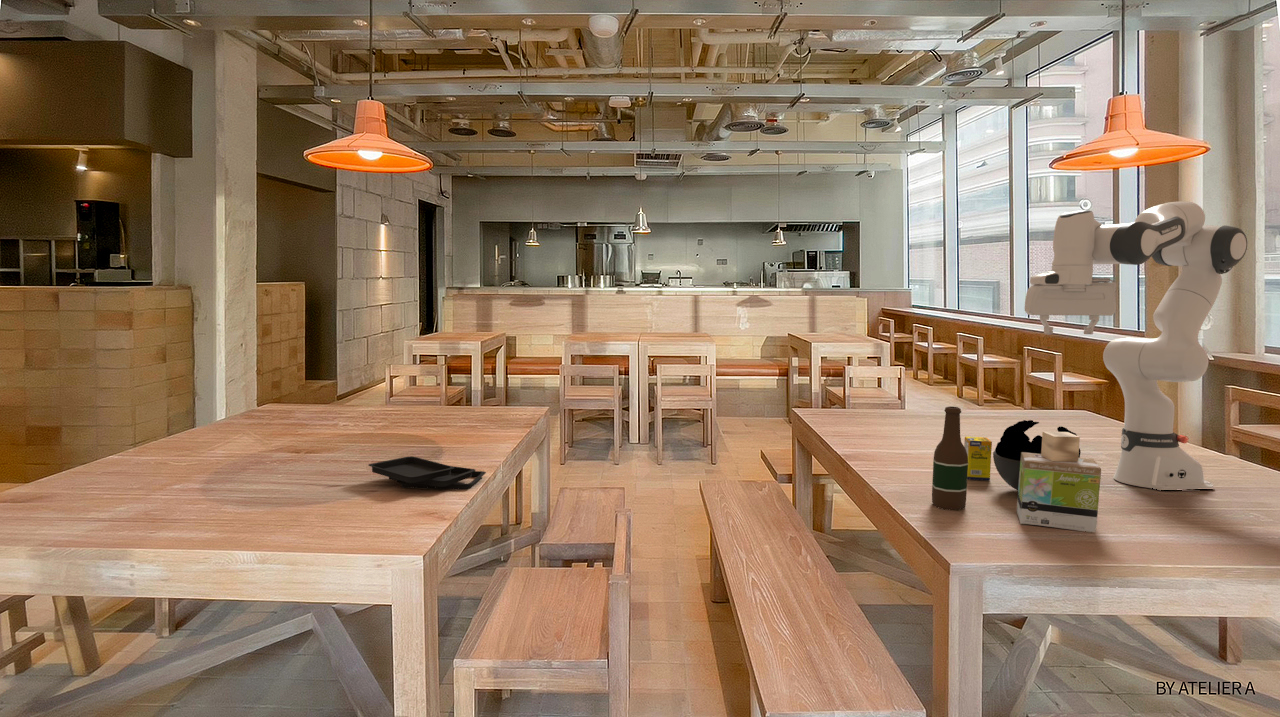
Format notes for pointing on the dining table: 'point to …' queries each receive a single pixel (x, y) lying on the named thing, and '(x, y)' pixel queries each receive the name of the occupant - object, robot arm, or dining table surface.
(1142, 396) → the robot arm
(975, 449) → the supplement box
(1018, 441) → the coal bowl
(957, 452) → the beer bottle
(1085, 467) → the tea box
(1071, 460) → the oak block
